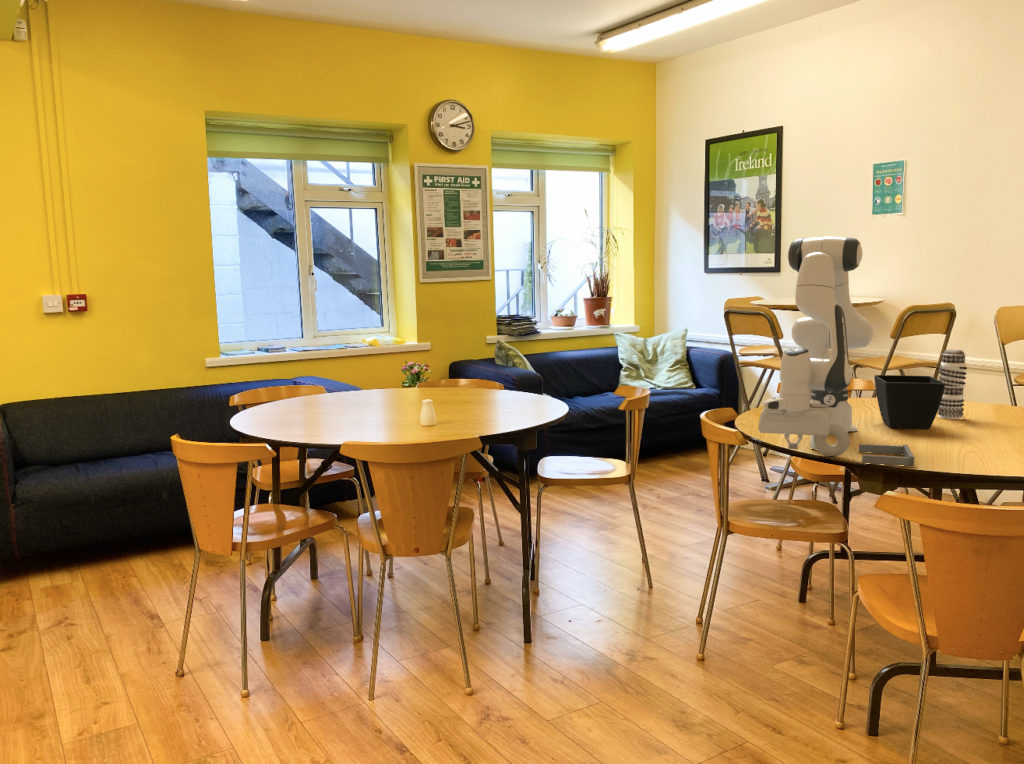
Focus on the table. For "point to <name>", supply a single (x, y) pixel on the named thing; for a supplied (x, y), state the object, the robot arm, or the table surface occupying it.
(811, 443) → the salt shaker
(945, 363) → the decorative candle
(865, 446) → the tray
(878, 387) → the flower pot
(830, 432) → the donut
